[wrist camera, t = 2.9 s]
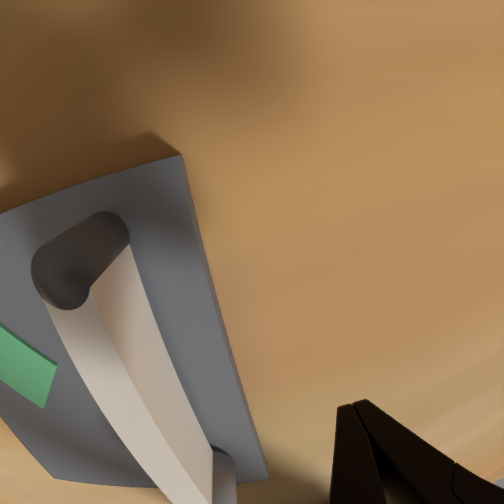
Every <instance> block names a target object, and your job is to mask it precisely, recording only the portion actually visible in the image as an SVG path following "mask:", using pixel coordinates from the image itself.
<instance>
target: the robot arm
mask: <svg viewBox="0 0 504 504" xmlns="http://www.w3.org/2000/svg"><path fill="white" fill-rule="evenodd" d="M328 504H504V489H503V488H501V487H499V486H496V485H494V484H492V483H490V482H488V481H486V480H484V479H482V478H480V477H479V476H477V475H475V474H474V473H472V472H470V471H469V470H467V469H465V468H464V467H462V466H461V465H460V464H458V463H455V462H454V461H453V460H452V459H450V458H449V457H447V456H446V455H445V454H443V453H442V452H440V451H439V450H437V449H436V448H434V447H433V446H431V445H430V444H429V443H427V442H426V441H424V440H423V439H421V438H420V437H419V436H417V435H416V434H414V433H413V432H411V431H410V430H409V429H407V428H406V427H404V426H403V425H402V424H400V423H399V422H397V421H396V420H395V419H393V418H392V417H391V416H389V415H388V414H386V413H385V412H384V411H382V410H381V409H380V408H378V407H377V406H376V405H374V404H373V403H371V402H370V401H369V400H367V399H363V400H360V401H356V402H354V403H352V404H346V405H342V406H339V407H338V408H337V417H336V431H335V444H334V456H333V466H332V476H331V485H330V493H329V501H328Z"/></svg>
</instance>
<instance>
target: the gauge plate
mask: <svg viewBox="0 0 504 504" xmlns="http://www.w3.org/2000/svg"><path fill="white" fill-rule="evenodd" d="M100 211H108V212H111V213H114V214H116V215H117V216H119V217H120V218H121V219H122V220H123V221H124V223H125V224H126V226H127V228H128V231H129V235H130V243H129V244H130V247H131V250H132V254H133V257H134V260H135V263H136V266H137V269H138V272H139V275H140V278H141V281H142V284H143V287H144V290H145V293H146V296H147V299H148V302H149V304H150V307H151V310H152V313H153V316H154V318H155V321H156V324H157V326H158V329H159V332H160V334H161V337H162V339H163V342H164V344H165V347H166V349H167V352H168V354H169V357H170V359H171V362H172V364H173V367H174V369H175V371H176V374H177V376H178V378H179V381H180V383H181V385H182V388H183V390H184V392H185V394H186V397H187V399H188V401H189V403H190V405H191V408H192V410H193V412H194V414H195V416H196V418H197V420H198V422H199V425H200V427H201V429H202V431H203V433H204V435H205V437H206V439H207V441H208V443H209V445H210V447H211V449H212V450H213V451H217V452H221V453H223V454H226V455H228V456H229V457H231V458H232V459H233V460H234V462H235V466H236V484H238V483H246V482H254V481H261V480H267V479H269V476H268V468H267V463H266V460H265V457H264V454H263V451H262V448H261V445H260V442H259V439H258V436H257V432H256V429H255V426H254V423H253V420H252V417H251V413H250V410H249V407H248V404H247V401H246V397H245V394H244V391H243V387H242V384H241V381H240V377H239V374H238V371H237V367H236V364H235V361H234V357H233V354H232V350H231V347H230V343H229V340H228V336H227V333H226V329H225V325H224V322H223V318H222V315H221V311H220V307H219V304H218V300H217V296H216V293H215V289H214V285H213V281H212V277H211V274H210V270H209V266H208V262H207V258H206V254H205V250H204V246H203V242H202V238H201V234H200V230H199V226H198V222H197V218H196V214H195V209H194V205H193V201H192V197H191V192H190V188H189V184H188V179H187V175H186V171H185V166H184V162H183V157H182V154H181V155H177V156H173V157H169V158H165V159H161V160H158V161H154V162H150V163H147V164H143V165H139V166H136V167H132V168H129V169H125V170H122V171H119V172H115V173H112V174H109V175H106V176H102V177H99V178H96V179H93V180H90V181H87V182H84V183H81V184H78V185H75V186H72V187H69V188H66V189H63V190H61V191H58V192H55V193H52V194H50V195H47V196H44V197H42V198H39V199H36V200H34V201H31V202H29V203H26V204H24V205H21V206H19V207H16V208H14V209H11V210H9V211H6V212H4V213H2V214H0V416H1V418H2V419H3V420H4V422H5V423H6V424H7V425H8V427H9V428H10V429H11V431H12V432H13V433H14V434H15V436H16V437H17V438H18V439H19V440H20V442H21V443H22V444H23V445H24V446H25V447H26V449H27V450H28V451H29V452H30V453H31V454H32V455H33V457H34V458H35V459H36V460H37V461H38V462H39V463H40V464H41V465H42V466H43V467H44V468H45V470H46V471H47V472H48V473H49V474H50V475H51V476H52V477H53V478H55V479H61V480H67V481H74V482H81V483H89V484H98V485H109V486H123V487H145V488H159V487H158V486H157V485H156V484H155V483H154V481H153V480H152V479H151V478H150V477H149V475H148V474H147V473H146V472H145V470H144V469H143V468H142V467H141V465H140V464H139V463H138V462H137V460H136V459H135V458H134V456H133V455H132V454H131V452H130V451H129V450H128V448H127V447H126V446H125V444H124V443H123V441H122V440H121V439H120V437H119V436H118V434H117V433H116V431H115V430H114V429H113V427H112V426H111V424H110V423H109V421H108V420H107V418H106V417H105V415H104V414H103V412H102V411H101V409H100V407H99V406H98V404H97V403H96V401H95V399H94V398H93V396H92V394H91V393H90V391H89V389H88V388H87V386H86V384H85V383H84V381H83V379H82V377H81V376H80V374H79V372H78V370H77V369H76V367H75V365H74V363H73V361H72V359H71V357H70V356H69V354H68V352H67V350H66V348H65V346H64V344H63V342H62V340H61V338H60V336H59V334H58V332H57V330H56V327H55V325H54V323H53V321H52V319H51V317H50V314H49V312H48V310H47V308H46V305H45V303H44V301H43V298H42V297H41V296H40V294H39V293H38V291H37V290H36V288H35V286H34V283H33V280H32V276H31V261H32V258H33V255H34V254H35V252H36V251H37V249H39V248H40V247H41V246H42V245H44V244H46V243H47V242H49V241H50V240H52V239H53V238H55V237H56V236H58V235H60V234H61V233H63V232H64V231H66V230H68V229H69V228H71V227H72V226H74V225H76V224H77V223H79V222H81V221H82V220H84V219H86V218H87V217H89V216H91V215H93V214H94V213H97V212H100Z"/></svg>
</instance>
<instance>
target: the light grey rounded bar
mask: <svg viewBox="0 0 504 504" xmlns="http://www.w3.org/2000/svg"><path fill="white" fill-rule="evenodd" d="M129 243H130V235H129V231H128V228H127V226H126V224H125V223H124V221H123V220H122V219H121V218H120V217H119V216H117V215H116V214H114V213H111V212H108V211H100V212H97V213H94V214H93V215H91V216H89V217H87V218H86V219H84V220H82V221H81V222H79V223H77V224H76V225H74V226H72V227H71V228H69V229H68V230H66V231H64V232H63V233H61V234H60V235H58V236H56V237H55V238H53V239H52V240H50V241H49V242H47V243H46V244H44V245H42V246H41V247H40V248H39V249H37V251H36V252H35V254H34V255H33V258H32V261H31V276H32V280H33V283H34V286H35V288H36V290H37V291H38V293H39V294H40V296H41V297H42V298H43V301H44V303H45V305H46V308H47V310H48V312H49V314H50V317H51V319H52V321H53V323H54V325H55V327H56V330H57V332H58V334H59V336H60V338H61V340H62V342H63V344H64V346H65V348H66V350H67V352H68V354H69V356H70V357H71V359H72V361H73V363H74V365H75V367H76V369H77V370H78V372H79V374H80V376H81V377H82V379H83V381H84V383H85V384H86V386H87V388H88V389H89V391H90V393H91V394H92V396H93V398H94V399H95V401H96V403H97V404H98V406H99V407H100V409H101V411H102V412H103V414H104V415H105V417H106V418H107V420H108V421H109V423H110V424H111V426H112V427H113V429H114V430H115V431H116V433H117V434H118V436H119V437H120V439H121V440H122V441H123V443H124V444H125V446H126V447H127V448H128V450H129V451H130V452H131V454H132V455H133V456H134V458H135V459H136V460H137V462H138V463H139V464H140V465H141V467H142V468H143V469H144V470H145V472H146V473H147V474H148V475H149V477H150V478H151V479H152V480H153V481H154V483H155V484H156V485H157V486H158V487H159V488H160V490H161V491H162V492H163V493H164V494H165V495H166V496H167V498H168V499H169V500H170V501H171V502H172V504H237V489H236V466H235V462H234V460H233V459H232V458H231V457H229V456H228V455H226V454H223V453H221V452H217V451H213V450H212V449H211V447H210V445H209V443H208V441H207V439H206V437H205V435H204V433H203V431H202V429H201V427H200V425H199V422H198V420H197V418H196V416H195V414H194V412H193V410H192V408H191V405H190V403H189V401H188V399H187V397H186V394H185V392H184V390H183V388H182V385H181V383H180V381H179V378H178V376H177V374H176V371H175V369H174V367H173V364H172V362H171V359H170V357H169V354H168V352H167V349H166V347H165V344H164V342H163V339H162V337H161V334H160V332H159V329H158V326H157V324H156V321H155V318H154V316H153V313H152V310H151V307H150V304H149V302H148V299H147V296H146V293H145V290H144V287H143V284H142V281H141V278H140V275H139V272H138V269H137V266H136V263H135V260H134V257H133V254H132V250H131V247H130V244H129Z"/></svg>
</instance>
